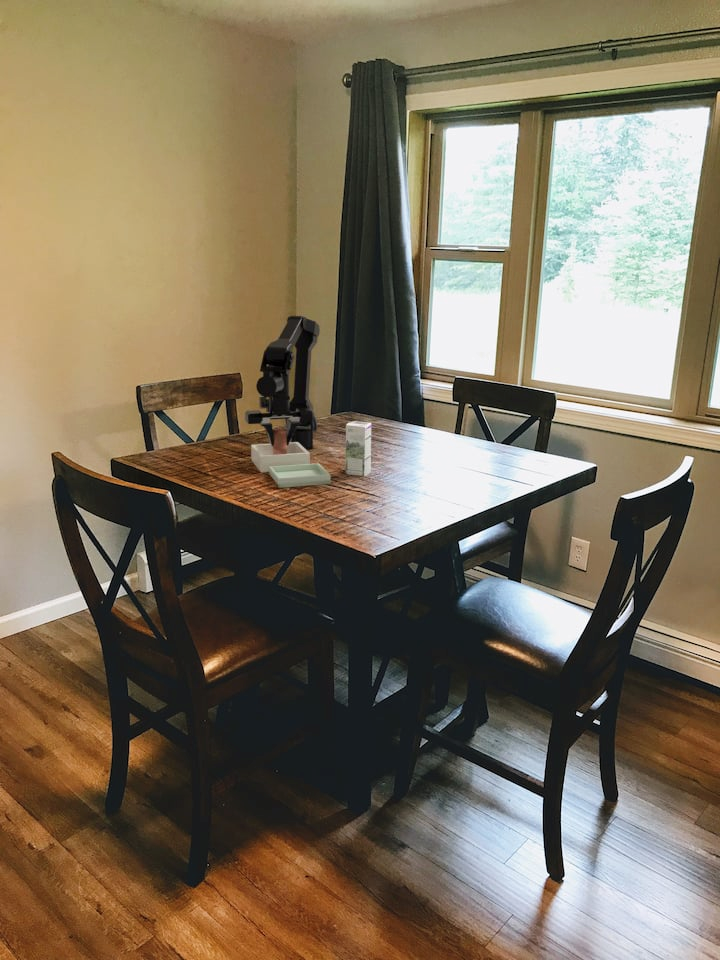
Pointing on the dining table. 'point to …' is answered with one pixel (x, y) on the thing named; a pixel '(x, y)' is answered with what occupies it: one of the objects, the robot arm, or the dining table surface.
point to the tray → (299, 475)
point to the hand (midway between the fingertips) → (279, 445)
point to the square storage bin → (278, 456)
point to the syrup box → (358, 448)
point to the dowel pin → (280, 441)
